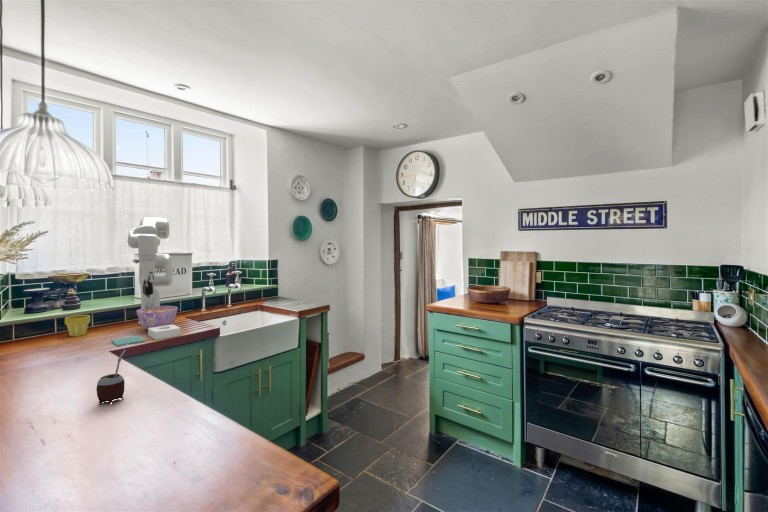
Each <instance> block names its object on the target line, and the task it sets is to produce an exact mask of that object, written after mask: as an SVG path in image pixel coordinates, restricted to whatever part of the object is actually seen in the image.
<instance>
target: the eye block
mask: <svg viewBox="0 0 768 512" xmlns="http://www.w3.org/2000/svg"><path fill="white" fill-rule="evenodd" d="M147 336H149V337H150V338H152V339H153V340H155V341H156V340H162V339H167V338H174V337H178V336H182V328H181V327H180V326H178V325H175V324H174V323H173V324H172V325H165V326H159V327H152V328H148V329H147Z"/></svg>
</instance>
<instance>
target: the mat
mask: <svg viewBox="0 0 768 512" xmlns="http://www.w3.org/2000/svg"><path fill="white" fill-rule="evenodd" d="M144 341H146V342H147V339H146V338H144V337H142V336H141V335H134V336H128V337H122V338H121V337H120V338H115V339H110V342H111V343H112V344H113V345H114V346H116V347H122V346H121V345H123V346H127V345H126V344H129V345H132V344H131V343H135V344H139V343H138V342H140V343H145V342H144Z"/></svg>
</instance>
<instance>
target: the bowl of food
mask: <svg viewBox="0 0 768 512" xmlns="http://www.w3.org/2000/svg"><path fill="white" fill-rule="evenodd" d="M178 308H179V307H178V306H174V305H160V306H155V307H152V308H151V309H145V308H142V309H141V308H139V309H136V315H137V318H138V322H139V321H140V324H139V325H140V326H141V327H142V328H144V329H146V330H148V328H152V327H159V326H165V325H172V324H173V325H174V323H175V321H176V317H177V313H178Z"/></svg>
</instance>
